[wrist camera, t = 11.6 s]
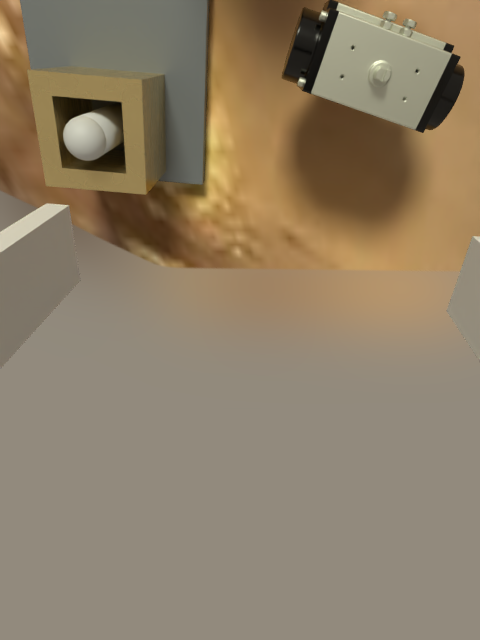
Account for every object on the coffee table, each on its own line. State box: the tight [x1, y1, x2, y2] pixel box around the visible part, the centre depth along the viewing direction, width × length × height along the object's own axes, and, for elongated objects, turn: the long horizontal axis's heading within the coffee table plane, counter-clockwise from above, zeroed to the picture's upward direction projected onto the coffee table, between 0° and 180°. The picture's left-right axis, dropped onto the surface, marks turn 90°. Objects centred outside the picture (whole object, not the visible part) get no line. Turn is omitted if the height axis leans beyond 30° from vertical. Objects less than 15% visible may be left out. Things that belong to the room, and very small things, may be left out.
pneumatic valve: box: [282, 0, 464, 133], centre depth 32 cm, size 6×12×12 cm, turn 73°
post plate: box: [20, 0, 209, 185], centre depth 32 cm, size 15×22×12 cm
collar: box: [27, 66, 166, 195], centre depth 36 cm, size 8×8×8 cm
